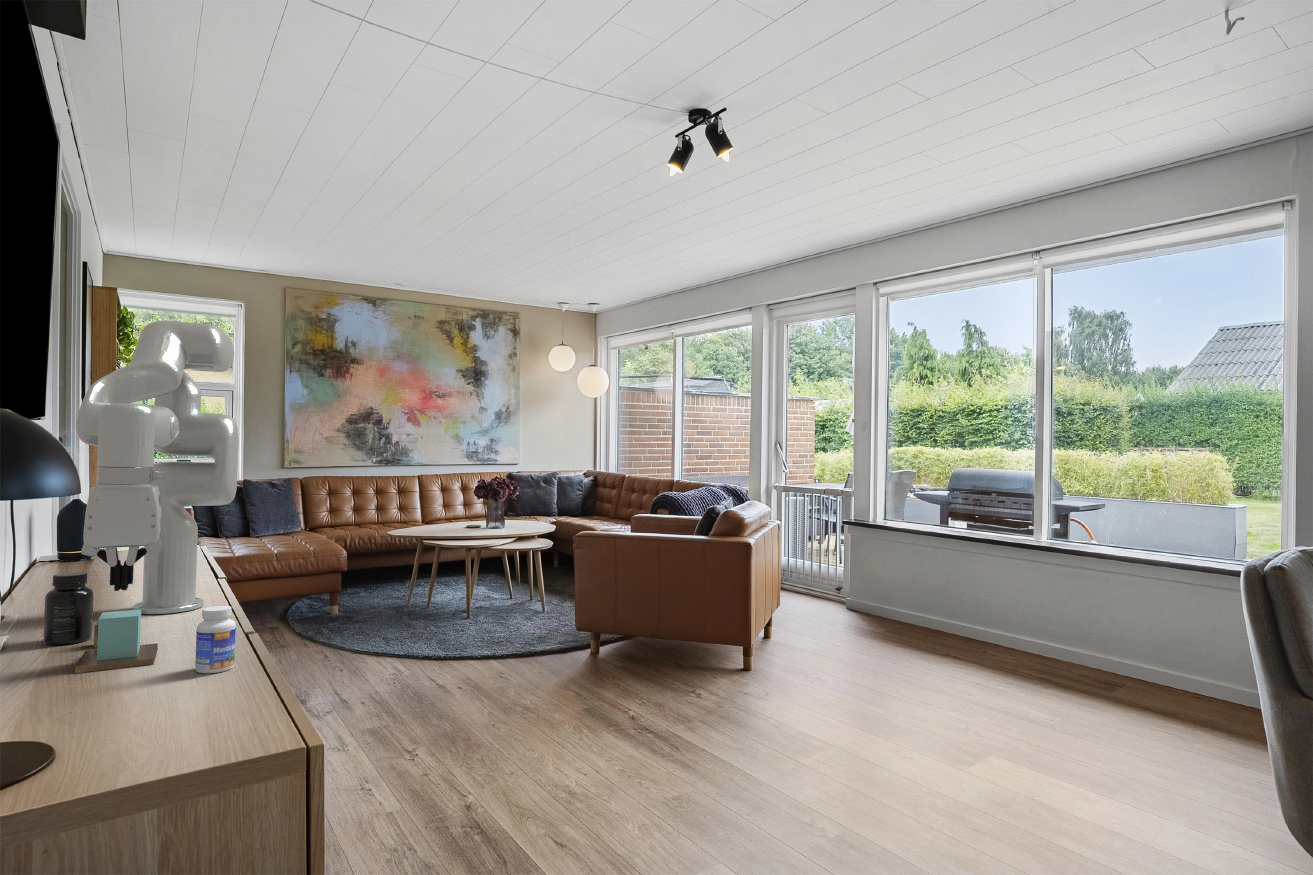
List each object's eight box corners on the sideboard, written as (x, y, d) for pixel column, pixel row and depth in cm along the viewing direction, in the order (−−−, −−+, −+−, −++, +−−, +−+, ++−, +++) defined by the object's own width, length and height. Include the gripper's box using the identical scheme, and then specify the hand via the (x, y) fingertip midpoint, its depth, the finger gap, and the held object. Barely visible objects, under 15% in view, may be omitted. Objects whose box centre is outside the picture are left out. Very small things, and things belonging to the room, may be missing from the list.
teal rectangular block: (101, 652, 119) (102, 612, 119) (139, 648, 121) (141, 609, 121) (97, 660, 114) (98, 619, 114) (137, 656, 117) (138, 615, 117)
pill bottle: (215, 675, 111) (218, 612, 112) (186, 672, 112) (188, 610, 113) (242, 665, 117) (244, 605, 117) (214, 662, 118) (216, 603, 118)
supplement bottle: (102, 636, 131) (104, 571, 132) (68, 646, 125) (70, 577, 125) (68, 635, 132) (70, 569, 132) (32, 644, 125) (34, 576, 125)
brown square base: (85, 656, 119) (86, 614, 119) (157, 648, 125) (159, 608, 125) (75, 673, 111) (76, 627, 111) (153, 664, 116) (155, 621, 116)
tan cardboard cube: (96, 643, 127) (96, 621, 127) (117, 641, 128) (118, 619, 128) (93, 647, 124) (94, 624, 124) (115, 645, 126) (115, 622, 126)
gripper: (180, 477, 125) (176, 582, 125) (71, 477, 117) (67, 589, 117) (178, 478, 119) (174, 589, 118) (63, 479, 111) (58, 597, 111)
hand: (121, 589), depth 118 cm, fingers closed
